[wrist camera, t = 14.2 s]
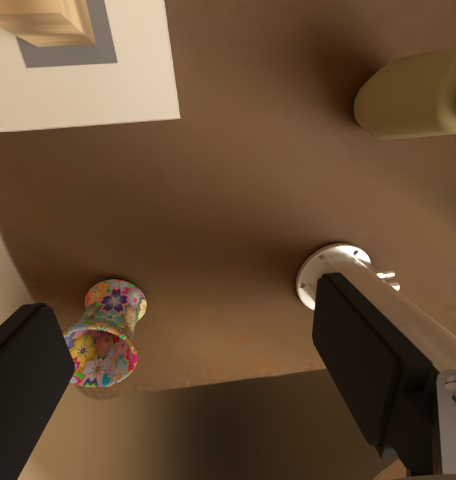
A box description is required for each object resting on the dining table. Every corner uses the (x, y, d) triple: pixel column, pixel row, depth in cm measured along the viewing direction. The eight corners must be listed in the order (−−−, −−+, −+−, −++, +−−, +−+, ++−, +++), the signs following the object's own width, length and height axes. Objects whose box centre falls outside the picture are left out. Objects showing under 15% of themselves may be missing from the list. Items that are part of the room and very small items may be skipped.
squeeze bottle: (359, 152, 33) (521, 175, 17) (332, 97, 30) (500, 61, 14) (414, 110, 32) (644, 92, 16) (391, 48, 29) (652, -55, 13)
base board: (148, -116, 21) (141, -153, 18) (180, 118, 29) (179, 117, 26) (-86, -119, 20) (-132, -160, 17) (13, 131, 27) (-7, 132, 24)
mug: (77, 275, 35) (35, 331, 25) (146, 271, 36) (130, 323, 27) (95, 339, 40) (65, 407, 30) (155, 334, 41) (144, 397, 32)
